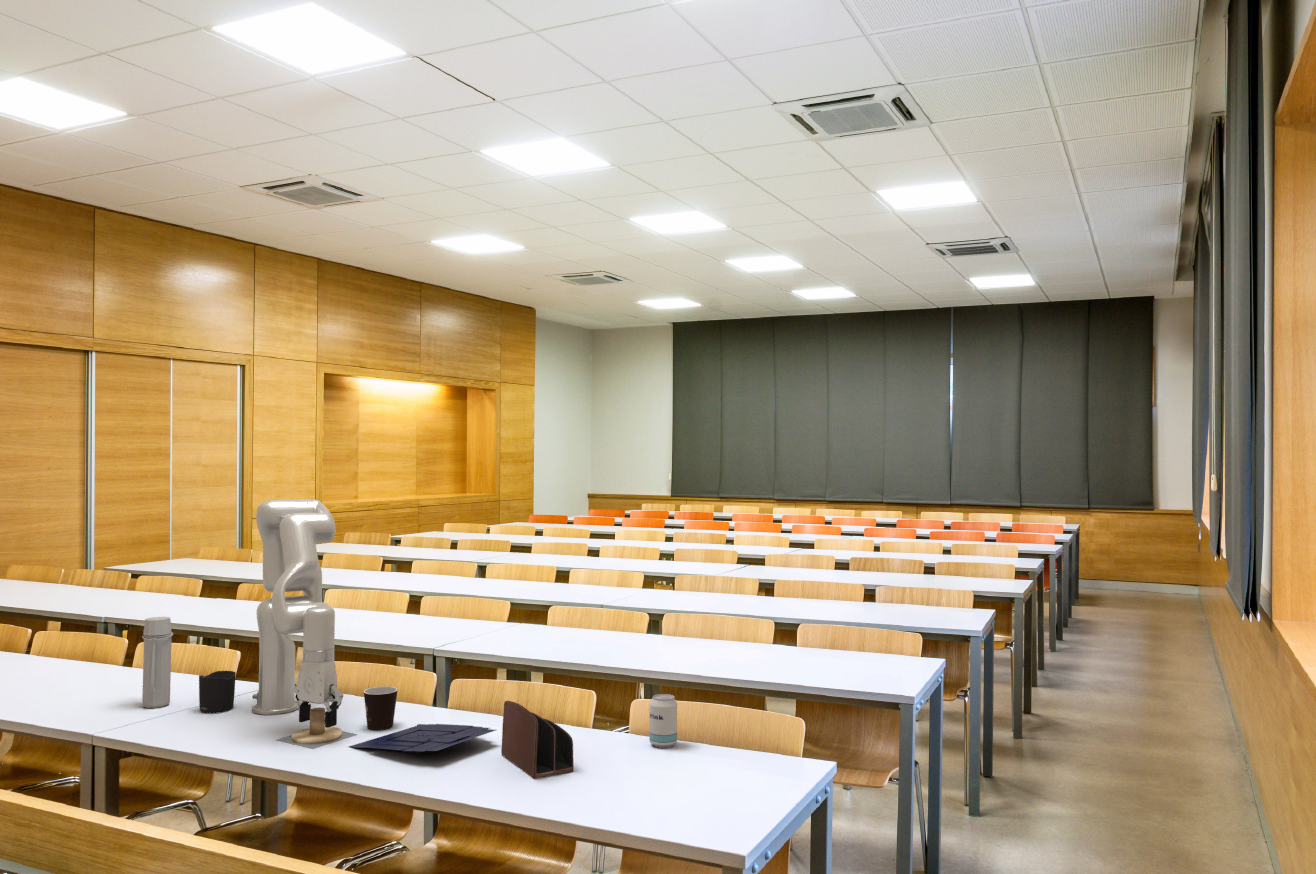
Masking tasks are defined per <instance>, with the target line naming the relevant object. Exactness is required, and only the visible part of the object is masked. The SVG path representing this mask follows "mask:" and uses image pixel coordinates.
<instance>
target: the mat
mask: <svg viewBox="0 0 1316 874" xmlns="http://www.w3.org/2000/svg"><path fill="white" fill-rule="evenodd" d="M358 735H359V734H357V733H353V732H349V731H345V730H342V736H341V737H340V738H339V739H336V740H334V741H330V742H326V743H319V744H299V743H295V742H293V741H292V734H290V735H287V736H283V737H281V738H276V739H275V741H277V742H281V743H286V744H291V745H293V746H297V747H303V748H307V749H310V750H314V749H317V748H320V747H324V746H326V745H331V744H333V743H336V742H339V741H342V740H345V739H349V738H352V737H356V736H358Z"/></svg>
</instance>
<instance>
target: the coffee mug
mask: <svg viewBox="0 0 1316 874" xmlns="http://www.w3.org/2000/svg"><path fill="white" fill-rule="evenodd" d="M398 690H399V689H398V688H397V687H395V686H374V687H369V688H366V689H364V690H363V698H364V708H365V719H366V728H367V730H368V731H375V732H377V731H379V732H380V731H388V730H389V729H390V730H391V729H392V728H393V727H394V721H395V720H394V719H395V713H396V704H397V697H398Z"/></svg>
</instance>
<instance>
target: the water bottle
mask: <svg viewBox="0 0 1316 874" xmlns="http://www.w3.org/2000/svg"><path fill="white" fill-rule="evenodd" d="M171 621H172V620H171V617H170V616H155V617H154V616H153V617H147V618H145V620H144V627H143V632H142V636H141V638H142V639H143V659H142V660H143V661H142V663H143V664H142V666H143V667H142V697H141V700H142V701H141V705H142V707H143V708H145V709H156V708H157V709H159V708H163V707H166V706H167V705H169V704H170V703H171V680H172V679H171V676H172V675H171V674H172V673H171V672H172V669H171V668H172V637H173V636H174V632H172V624H171V623H172V622H171Z"/></svg>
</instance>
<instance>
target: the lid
mask: <svg viewBox="0 0 1316 874" xmlns="http://www.w3.org/2000/svg"><path fill="white" fill-rule="evenodd" d="M325 712H326V707H321V706H320V707H313V708H312V707H311V709H310V720H309V727H307V728H303V729H302V728H301V729H300V730H297V731H294V732H293V733H292V734H291V735H292V741H293V742H295V743H299V744H319V743H326V742H330V741H334V740H336V739H339V738H340V737H341V736H342V731H343V730H342V729H341V728H339V727H337V726H332V727H328V728H326V727H325Z"/></svg>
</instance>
